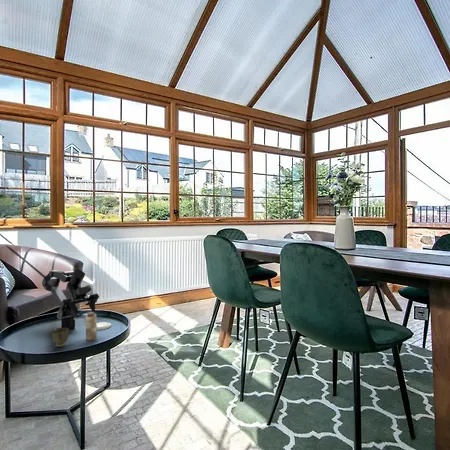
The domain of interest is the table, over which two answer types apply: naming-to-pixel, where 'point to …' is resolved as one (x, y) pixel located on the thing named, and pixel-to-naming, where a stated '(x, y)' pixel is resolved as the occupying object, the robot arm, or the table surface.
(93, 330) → the pepper mill
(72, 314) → the robot arm
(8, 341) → the table surface
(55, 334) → the cup
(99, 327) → the plate
